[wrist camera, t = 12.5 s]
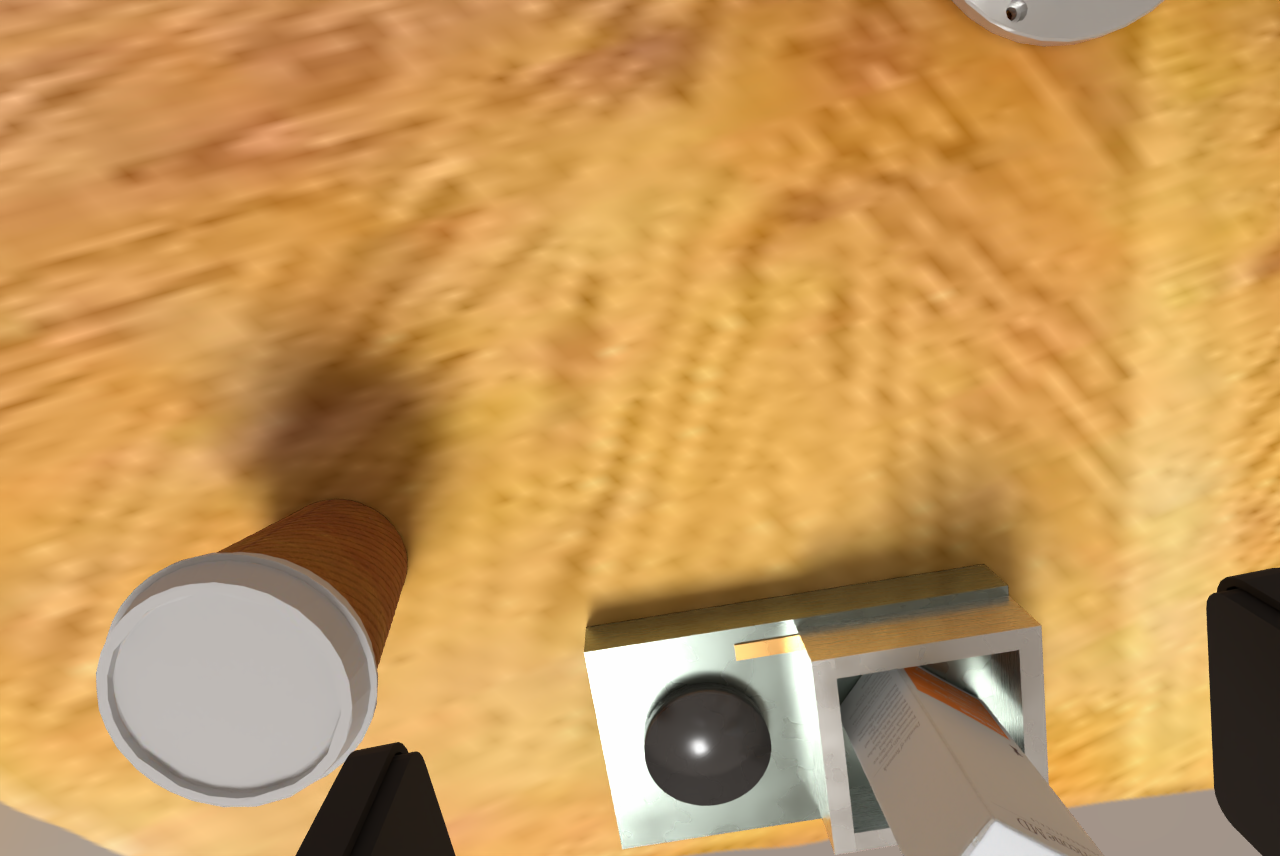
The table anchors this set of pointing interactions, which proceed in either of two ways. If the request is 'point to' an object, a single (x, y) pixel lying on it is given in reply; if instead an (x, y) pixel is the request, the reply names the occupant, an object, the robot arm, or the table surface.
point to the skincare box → (952, 772)
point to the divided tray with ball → (794, 700)
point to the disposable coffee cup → (255, 657)
